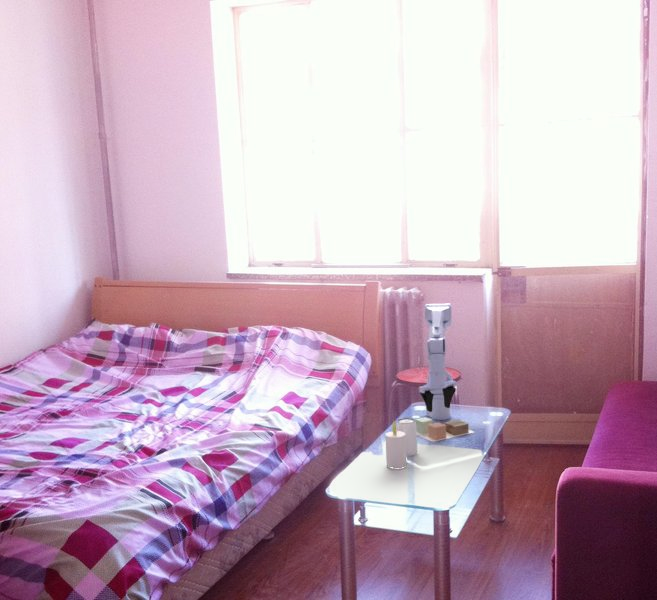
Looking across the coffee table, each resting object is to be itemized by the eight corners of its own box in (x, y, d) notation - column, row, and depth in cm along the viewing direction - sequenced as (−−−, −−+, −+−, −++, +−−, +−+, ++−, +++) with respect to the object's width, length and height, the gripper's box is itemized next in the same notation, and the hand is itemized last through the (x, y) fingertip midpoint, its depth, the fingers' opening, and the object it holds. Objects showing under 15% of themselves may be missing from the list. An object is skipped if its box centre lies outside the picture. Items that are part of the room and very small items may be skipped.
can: (395, 458, 252) (394, 423, 250) (399, 451, 258) (398, 417, 257) (415, 459, 250) (414, 423, 249) (418, 452, 256) (417, 417, 255)
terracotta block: (428, 436, 269) (428, 424, 268) (438, 434, 271) (438, 422, 270) (435, 440, 265) (435, 427, 264) (446, 437, 267) (445, 425, 266)
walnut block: (444, 431, 274) (444, 422, 274) (458, 428, 277) (458, 419, 276) (454, 435, 269) (454, 426, 268) (468, 432, 271) (468, 423, 271)
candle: (406, 462, 248) (405, 417, 246) (405, 469, 242) (404, 423, 240) (387, 462, 249) (385, 417, 247) (385, 469, 243) (384, 423, 241)
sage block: (415, 431, 276) (415, 419, 275) (426, 428, 278) (425, 417, 277) (422, 434, 272) (422, 422, 271) (433, 431, 274) (432, 420, 273)
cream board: (410, 434, 276) (410, 431, 276) (451, 425, 284) (451, 422, 284) (432, 444, 264) (432, 441, 263) (475, 434, 272) (475, 432, 271)
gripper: (427, 377, 263) (428, 415, 265) (460, 370, 270) (461, 408, 272) (415, 373, 269) (416, 410, 271) (448, 367, 276) (449, 403, 278)
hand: (438, 409), depth 272 cm, fingers open, 7 cm apart
